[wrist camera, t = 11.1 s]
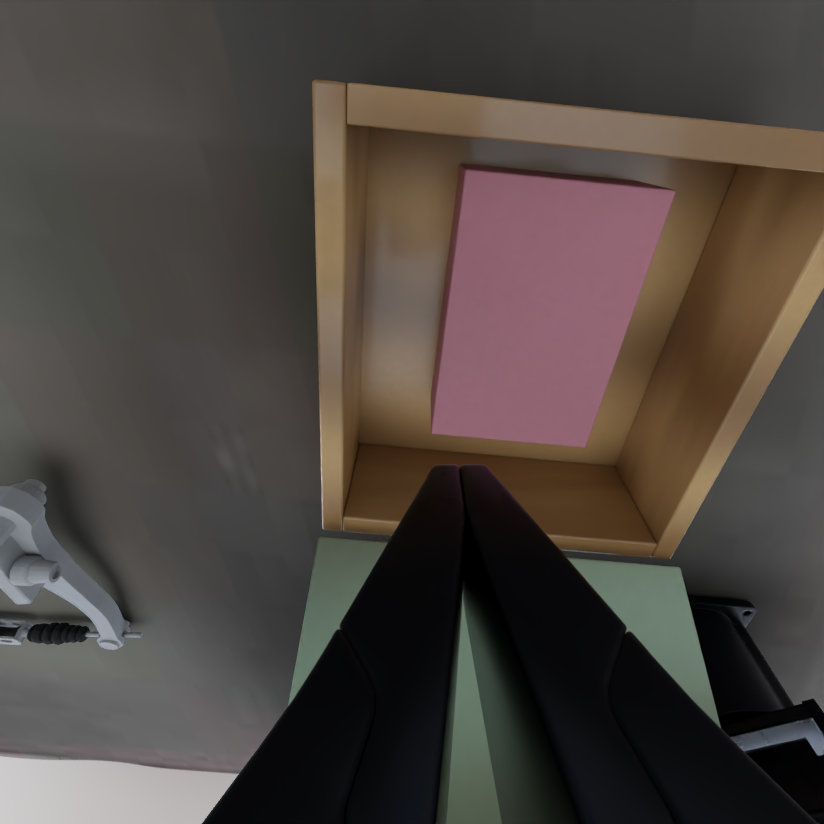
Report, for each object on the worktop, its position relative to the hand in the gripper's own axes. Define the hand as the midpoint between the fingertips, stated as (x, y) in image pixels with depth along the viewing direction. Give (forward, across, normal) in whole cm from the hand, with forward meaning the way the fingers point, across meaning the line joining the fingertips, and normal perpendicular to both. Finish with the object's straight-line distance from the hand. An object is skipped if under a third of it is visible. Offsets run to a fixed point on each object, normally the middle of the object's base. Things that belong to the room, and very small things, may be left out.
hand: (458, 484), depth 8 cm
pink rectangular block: (+11, -3, +1) cm, 12 cm away
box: (+12, -3, +2) cm, 13 cm away
